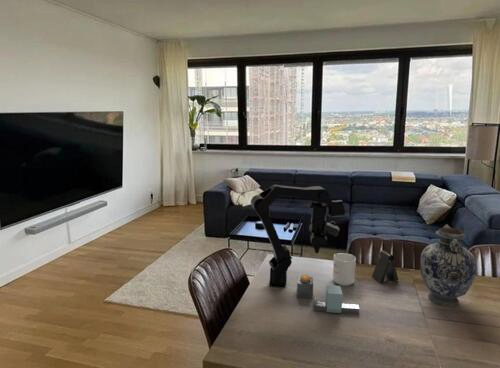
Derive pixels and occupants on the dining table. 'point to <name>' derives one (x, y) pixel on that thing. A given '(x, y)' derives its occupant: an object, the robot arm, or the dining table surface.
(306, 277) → the orange and white mushroom
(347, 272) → the mug
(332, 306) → the grey block
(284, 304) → the dining table surface
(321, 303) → the rail
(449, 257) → the decorative vase
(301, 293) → the grey hollow box
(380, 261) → the black tent sign
